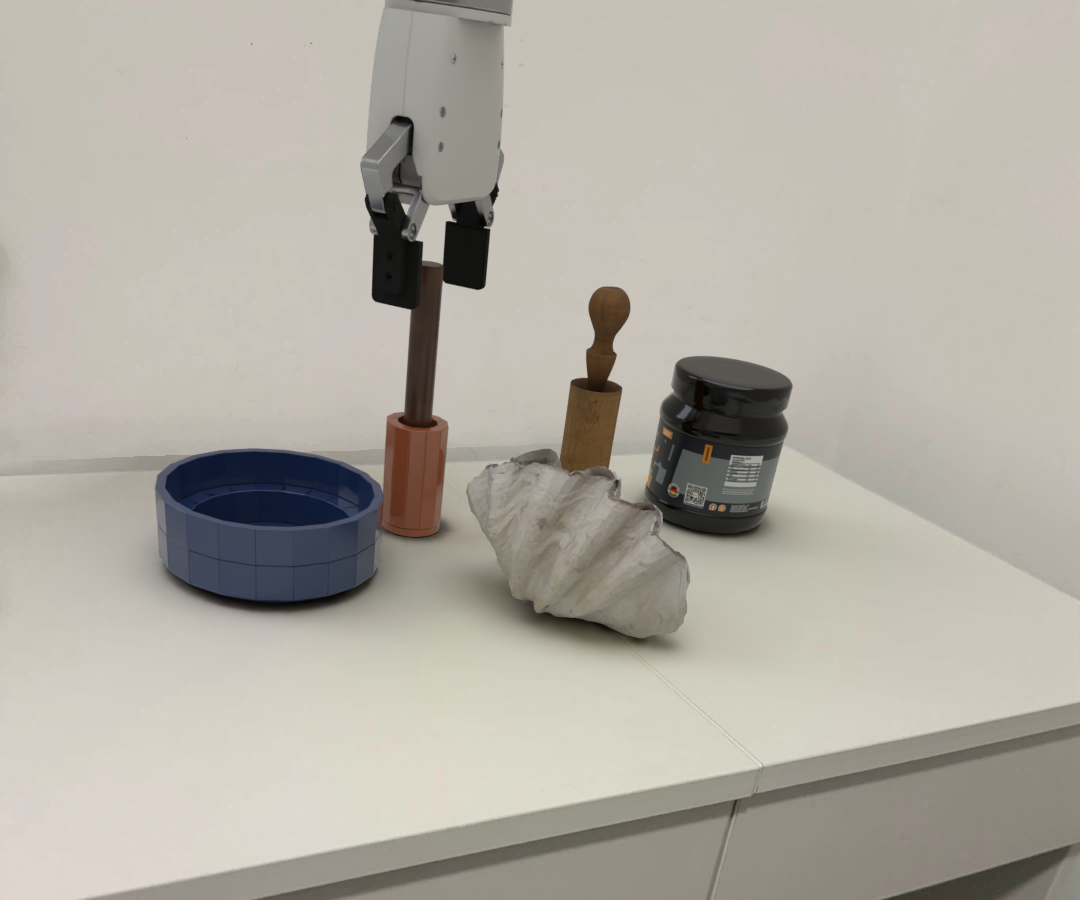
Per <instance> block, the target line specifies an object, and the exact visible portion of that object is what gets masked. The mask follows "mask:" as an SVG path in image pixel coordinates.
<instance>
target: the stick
mask: <svg viewBox="0 0 1080 900" xmlns="http://www.w3.org/2000/svg"><path fill="white" fill-rule="evenodd" d="M443 273H444V265H443V263H439V262H437V261H430V260H422V274H421V292H420V305H419V307H418V308H416V309H413V310H410V313H409V314H410V316H409V332H408V348H407V349H408V350H407V364H406V379H405V394H404V410H403V412H404V423H403V425H406V426H410V427H415V428H431V425H432V415H433V410H434V399H435V387H436V386H435V385H436V373H437V372H436V371H437V361H438V346H439V336H440V335H439V334H440V321H441V310H442V299H443V298H442V296H443V284H444V281H443Z"/></svg>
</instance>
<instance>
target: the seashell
mask: <svg viewBox="0 0 1080 900" xmlns="http://www.w3.org/2000/svg"><path fill="white" fill-rule="evenodd" d="M465 494H466V498H467V503H468V505H469V509H470V512H471V513H472V515H473V516H474V517H475V518H476V520H477V521H478V524H479V526H480V529H481V531H482V533H483V534H484V536H485V537H486V538H487V540H488V541H489V543H490V545H491V547H492V549H493V550H494V553H495V555H496V561H497V564H498V566H499V568H500V570H501V571H502V572H503V574H504V575H506V577H507V578H508V587H509V590H510V593H511V596H512V597H513V598H515V599H517V600H520V601H531V602H532V603H533V610H534V611H535V613H536V614H543V613H548V614H550V615H552V616H553V617H555V618H556V617H557V618H571V619H573V618H574V619H575V618H576V619H581V620H583V621H587V622H593V623H597V624H601V625H603V626H606V627H607V628H609V629H612V630H613V631H616V632H618V633H620V634H622V635H625V636H627V637H632V638H636V639H646V638H648V637H649V638H650V637H652V636H657V635H671V634H674V633H675V632H677V631H678V630H679V628H680V627H681V626H683V624H684V620H685V616H686V615H687V614H688V602H687V590H688V588H689V586H690V584H691V572H690V566H689V563H688V560H687V558H686V557H685V556H684V555H683V554H682V553H681V552H680V551H678V550H675V549H673V548H672V547H671V546H670V545H669V544H668V543H667V542H666V541H664V540H663V538H662V537H660V535H659V534H660V532H661V528H662V526H663V521H664V520H663V519H664V518H663V516H662V512H661V511H660V510H659V509H658V508H657V506H655V505H654V504H652V503H650V502H647V501H638V502H629V501H627V500H624V499H621V495H622V479H621V478H620V477H618V475H617V473H616V471H614V470H612V469H610V468H609V469H608V468H606V467H599V466H596V467H591V468H588V469H586V470H584V471H578V470H575V471H573V472H572V473H569V471H568V470H564V469H562V467H561V462H560V456H559V455H558V452H557V451H555V450H553V449H552V448H541V449H540V448H539V449H536V450H531V451H528V452H525V453H522V454H520V455H518V456H516V457H510V459H509V461H504V462H503V463H502V464H500V463H493V462H492V463H491V462H490V463H488V464H486V466H485V467H484V469H483V470H482V472H481V473H479V475H477V476H474V477H473V478H472V479H471V480H470V481H469V482H468V483H467V487H466V489H465Z"/></svg>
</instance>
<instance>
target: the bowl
mask: <svg viewBox="0 0 1080 900" xmlns="http://www.w3.org/2000/svg"><path fill="white" fill-rule="evenodd" d="M382 491H383V489H382V485H381V484H380V483H379V482H378V481H376V480H375V479H374V478H373V477H372V476H371V475H370V474H368V473H367V472H366V471H363V470H362V469H360V468H357V467H356V466H353V465H351V464H349V463H347V462H344V461H340V460H337V459H334V458H330V457H326V456H323V455H319V454H315V453H308V452H304V451H303V452H302V451H295V450H289V449H277V448H259V447H254V448H253V447H250V448H233V449H231V448H230V449H220V450H219V449H218V450H213V451H208V452H202V453H197V454H192V455H190V456H187V457H185V458H182V459H179V460H176V461H174V462H171V463H170V464H169V465H167V466H166V467H165V468H164V469H162V470H161V471H160V472H159V473H158V474H157V475H156V480H155V486H154V493H155V510H156V511H155V512H156V523H157V525H156V527H157V538H158V539H157V541H158V555H159V558H160V560H161V561H162V563H163V564H164V566H165V568H166V569H167V571H168V572H170V573H171V574H172V575H174V576H176V577H177V578H179V579H181V580H182V581H184V582H185V583H187V584H189V585H191V586H193V587H196V588H199V589H203V590H205V591H208V592H211V593H214V594H217V595H221V596H224V597H228V598H233V599H236V600H243V601H249V602H255V603H256V602H258V603H272V604H273V603H274V604H275V603H278V604H279V603H296V602H297V603H298V602H299V603H300V602H305V601H306V602H307V601H312V600H313V601H314V600H316V599H320V598H325V597H329V596H330V597H331V596H333V595H336V594H340V593H342V592H345V591H350V590H352V589H354V588H357V587H359V586H360V585H362V584H364V582H365V581H367V580H369V579H371V577H373V576H374V574H375V572H376V570H377V569H378V567H379V566H380V563H381V556H382V555H381V553H382V537H383V535H382V534H383V531H382V530H383V526H382V521H383V503H384V497H383V493H382Z"/></svg>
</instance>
